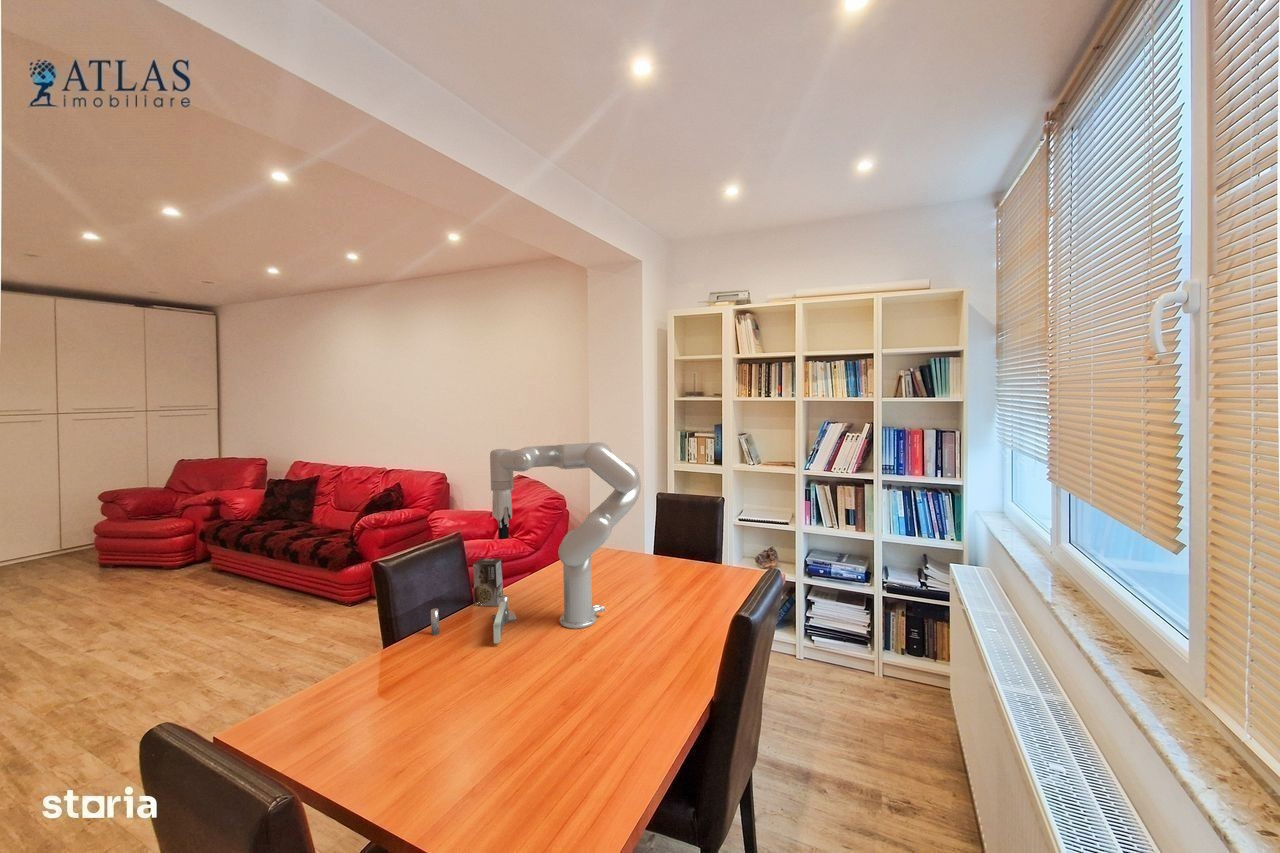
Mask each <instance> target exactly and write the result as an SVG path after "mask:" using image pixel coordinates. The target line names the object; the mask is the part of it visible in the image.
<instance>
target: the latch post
mask: <svg viewBox="0 0 1280 853" xmlns="http://www.w3.org/2000/svg"><path fill="white" fill-rule="evenodd" d="M439 614H440V612H439V608H438V607H437V608H436V607H435V608H432V609H431V610H430V628H431V631H430V632H431V636H437V635H440V616H439Z"/></svg>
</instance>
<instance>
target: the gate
mask: <svg viewBox="0 0 1280 853" xmlns="http://www.w3.org/2000/svg"><path fill="white" fill-rule="evenodd" d="M505 607H506V602H501V603H500V604H499V605H498V610H497V613H496V614H497V615H496V618H495V621H493V625H492V626H493V630H492V631H493V644H499V643H501V641H502V640H501V636H502V633H503V629H504V627H505V626H504V625H505V623H504V622H505V618H506V613H505Z"/></svg>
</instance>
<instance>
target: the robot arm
mask: <svg viewBox="0 0 1280 853" xmlns="http://www.w3.org/2000/svg"><path fill="white" fill-rule="evenodd" d="M489 466H490V467H489V469H490V474H489V475H490V491H492V503H491V504H492V508H491V509H492V513H491V515H492V517H493V518H494V519H496V521H497V526H498V527H497V532H498V539H499V540H505V539H506V540H507V539H509V538H510V532H509V530H510V529H509V528H510V527H509V525H510V524H509V520H512V518H513V501H512V500H513V499H512V491H513V490H514V472H521V473H523V472H526V471H527V472H528V471H529V470H531V469H532V468H540V467H541V468H542V467H543V468H544V467H555V468H558V469H559V468H560V469H562V470H575V469H576V470H579V469H590V470H591V471H592V472H593V473H594V474H596V475H597V476H598V477H599V478H601V479H602V480H603V481H604V482H605V483H607V484H608V485H609V486H611V487H612V488H613V491H612V492H611V493H610V495H608V496H607V497H606V499H604V500H603V501H602V502H601V503H600V504H599V505H598V506H597V507H596V508H595V509H593V510H592V511H591V512H590V513H589V514H588V515H587V517H585V519H584V521H583V522H582V523H581V524H580V525H579V526H578V527H577V528H574V529H572V530H570V531H568V532H567V533H566V534H565V535H564V537H563V539H562V541H561V543H560V544H559V547H558V558H559V560H560V561H561V563H562V567H563V568H562V569H563V572H562V573H563V579H562V580H563V614H562V615H561V616H559V624H560V625H561V626H562V627H564V628H567V629H583V628H587V627H590V626H592V625H594V624H595V623H596V621H597V614H598V613H603V612H605V611H606V608H605V605H599V604H595V605H593V604H592V602H593V600H592V555H594V553H595V552H597V551H598V550H599V548H600V547H602V546H603V545H604V544H605V543H606V542H607V540H608V539H609V537H610V536H611V534H612V531H613V529H614V527H615V526H616V525H617V524H618V523H619V522H620V521H621V520H622V519H623V518H624V517H625V516H626V515H627V514H628V513H629V512H630V510H631V509H632V508H633V507H634V506H635V505H636V503H637V501H638V498H639V497H640V492H641V487H642V485H641V484H642V482H641V476H640V473H639V472H640V471H639V470H638V468H637V467H636V466H635V465H634V464H632V463H630V462H623V461H622V460H620V459H619V457H617V456H616V455H615V454H614V453H613V452H612V448H611V447H610V445H608V444H606V443H605V442H585V443H584V442H583V443H565V444H563V443H562V444H554V445H553V444H552V445H535V446H525V447H522V448H519V449H516V450H511V449H509V448H497V449H493V450H491V451H490V452H489Z"/></svg>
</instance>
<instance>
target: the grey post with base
mask: <svg viewBox="0 0 1280 853" xmlns="http://www.w3.org/2000/svg"><path fill="white" fill-rule="evenodd" d="M501 602H506V607H505V613H506V618H505V622H504V624H508V622H509V623H513V622H517V621H518V618H517V615H515V613H514V611H513V610H509V595H508V594H503V595H502V596H500V603H501ZM496 615H497V613H496V614H492V615H491V617H493V618H492V619H493V622H495V618H496Z"/></svg>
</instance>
